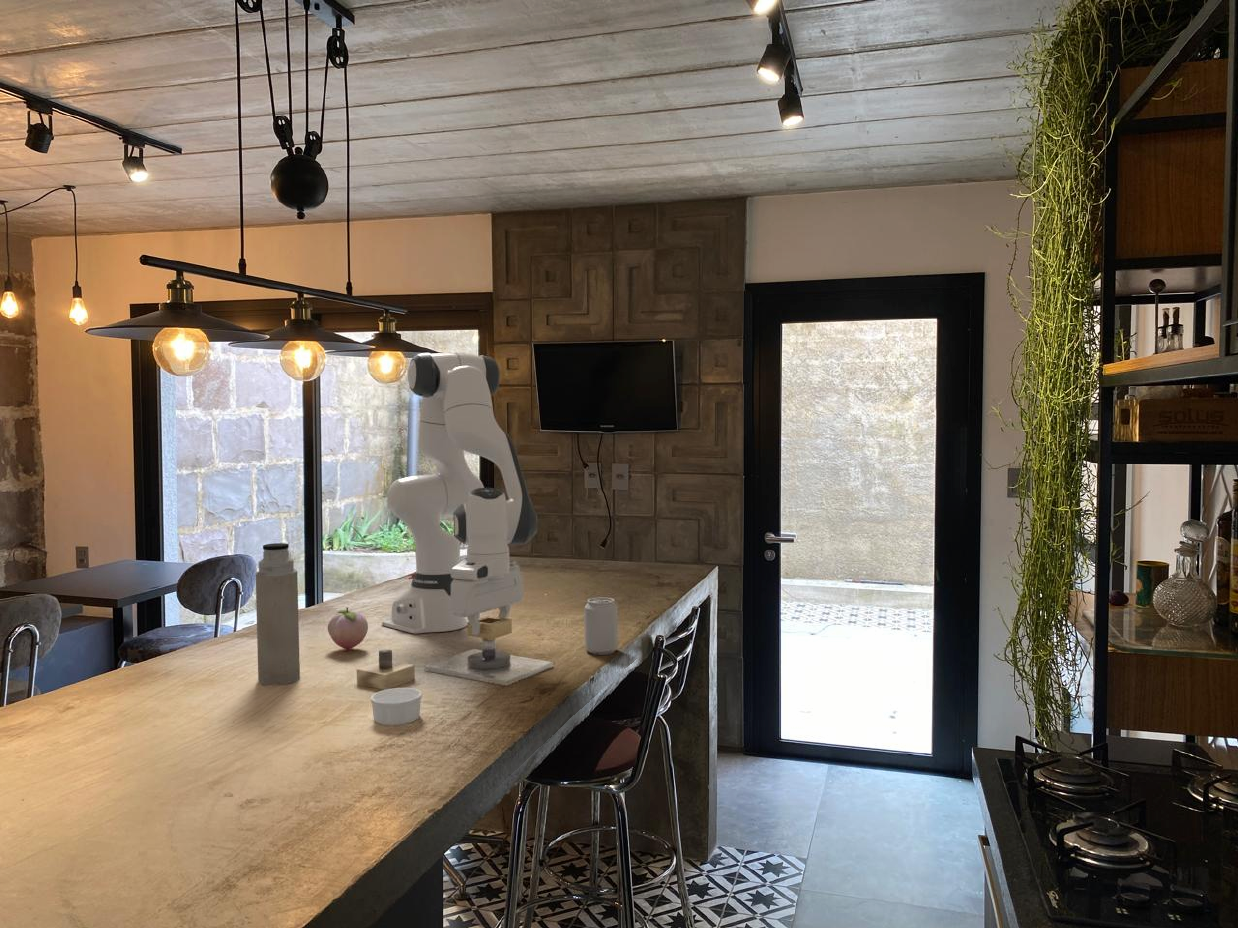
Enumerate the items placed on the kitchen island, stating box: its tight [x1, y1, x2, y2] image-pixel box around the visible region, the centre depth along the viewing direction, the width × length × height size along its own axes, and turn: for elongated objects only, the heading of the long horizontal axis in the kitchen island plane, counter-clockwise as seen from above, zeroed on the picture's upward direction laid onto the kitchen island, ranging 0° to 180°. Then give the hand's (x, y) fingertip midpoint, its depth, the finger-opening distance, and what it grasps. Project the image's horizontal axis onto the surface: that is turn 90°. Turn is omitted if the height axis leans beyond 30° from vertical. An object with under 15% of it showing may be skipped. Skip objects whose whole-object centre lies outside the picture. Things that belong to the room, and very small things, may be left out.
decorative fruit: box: [327, 606, 369, 651], centre depth 208 cm, size 9×8×10 cm
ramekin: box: [370, 687, 423, 726], centre depth 160 cm, size 9×9×4 cm
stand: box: [356, 648, 416, 690], centre depth 182 cm, size 8×8×6 cm
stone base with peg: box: [423, 638, 554, 687], centre depth 192 cm, size 22×16×8 cm
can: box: [584, 596, 619, 656], centre depth 205 cm, size 8×8×12 cm
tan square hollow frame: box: [466, 615, 513, 640], centre depth 191 cm, size 7×7×3 cm
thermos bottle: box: [255, 542, 301, 686], centre depth 184 cm, size 8×8×28 cm
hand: (489, 630), depth 191 cm, fingers closed on tan square hollow frame, 7 cm apart
